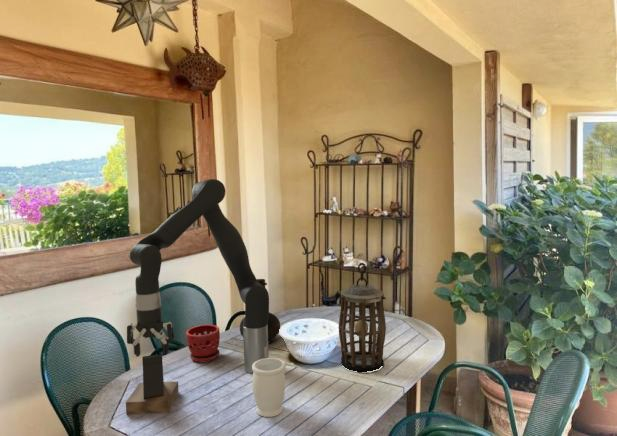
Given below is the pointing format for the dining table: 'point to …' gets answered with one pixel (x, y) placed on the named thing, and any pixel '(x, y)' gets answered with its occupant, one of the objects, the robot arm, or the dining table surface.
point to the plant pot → (203, 342)
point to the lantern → (362, 326)
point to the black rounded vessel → (272, 321)
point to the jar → (268, 386)
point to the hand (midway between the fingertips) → (151, 354)
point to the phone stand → (153, 376)
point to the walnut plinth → (152, 400)
